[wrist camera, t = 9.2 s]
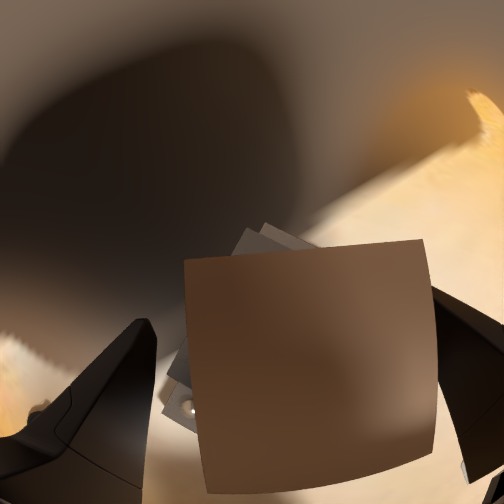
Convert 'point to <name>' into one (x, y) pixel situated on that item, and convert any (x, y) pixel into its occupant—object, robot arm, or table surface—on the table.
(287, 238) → the cup bracket
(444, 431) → the table surface
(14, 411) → the table surface
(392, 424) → the rail post
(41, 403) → the table surface
